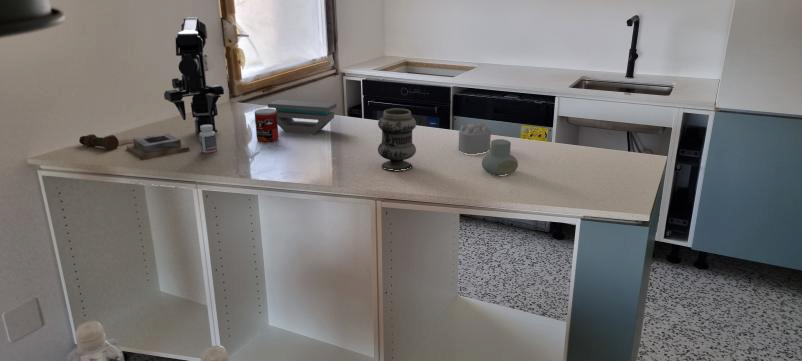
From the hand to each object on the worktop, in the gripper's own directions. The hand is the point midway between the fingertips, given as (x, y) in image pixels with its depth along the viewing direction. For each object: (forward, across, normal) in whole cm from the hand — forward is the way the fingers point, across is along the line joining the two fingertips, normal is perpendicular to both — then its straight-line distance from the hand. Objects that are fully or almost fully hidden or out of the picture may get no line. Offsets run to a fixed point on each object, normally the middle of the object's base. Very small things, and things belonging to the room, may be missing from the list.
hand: (197, 117), depth 203 cm
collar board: (+12, +10, -12) cm, 19 cm away
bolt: (+12, +24, -29) cm, 40 cm away
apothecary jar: (+12, -37, +60) cm, 72 cm away
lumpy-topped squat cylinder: (+12, -69, +65) cm, 95 cm away
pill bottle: (+12, -2, +2) cm, 12 cm away
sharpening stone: (+12, -41, +2) cm, 43 cm away
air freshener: (+12, -56, +86) cm, 103 cm away
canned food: (+12, -24, +4) cm, 27 cm away
